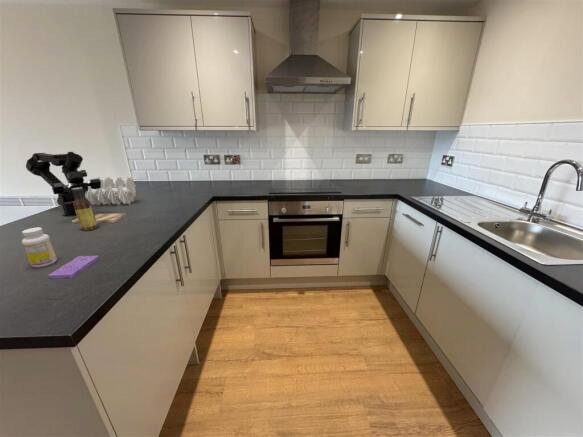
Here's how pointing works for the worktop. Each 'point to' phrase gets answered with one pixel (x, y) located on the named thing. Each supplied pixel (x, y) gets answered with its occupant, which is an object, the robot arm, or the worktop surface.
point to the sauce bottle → (84, 210)
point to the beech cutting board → (105, 217)
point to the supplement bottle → (38, 247)
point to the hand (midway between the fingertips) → (84, 199)
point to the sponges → (74, 267)
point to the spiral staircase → (112, 192)
